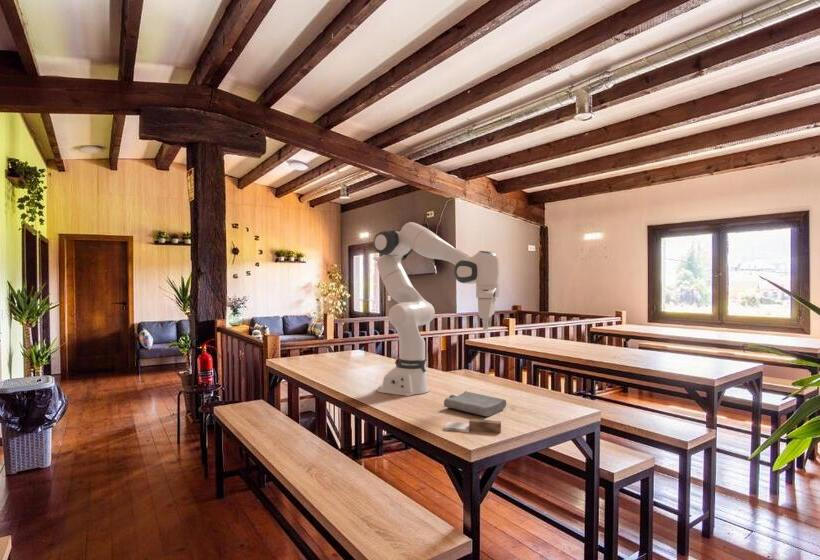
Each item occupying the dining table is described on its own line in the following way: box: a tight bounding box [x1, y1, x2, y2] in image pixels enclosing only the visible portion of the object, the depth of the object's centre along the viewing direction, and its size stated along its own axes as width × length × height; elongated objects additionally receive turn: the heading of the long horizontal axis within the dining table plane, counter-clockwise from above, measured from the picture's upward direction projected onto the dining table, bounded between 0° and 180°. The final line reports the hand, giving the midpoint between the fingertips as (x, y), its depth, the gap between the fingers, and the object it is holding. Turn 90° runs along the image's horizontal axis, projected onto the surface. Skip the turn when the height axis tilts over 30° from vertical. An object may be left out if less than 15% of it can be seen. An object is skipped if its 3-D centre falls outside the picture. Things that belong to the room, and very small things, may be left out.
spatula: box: [443, 418, 502, 434], centre depth 151 cm, size 18×6×3 cm, turn 74°
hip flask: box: [443, 390, 507, 417], centre depth 174 cm, size 16×4×20 cm
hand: (487, 327), depth 179 cm, fingers open, 8 cm apart
